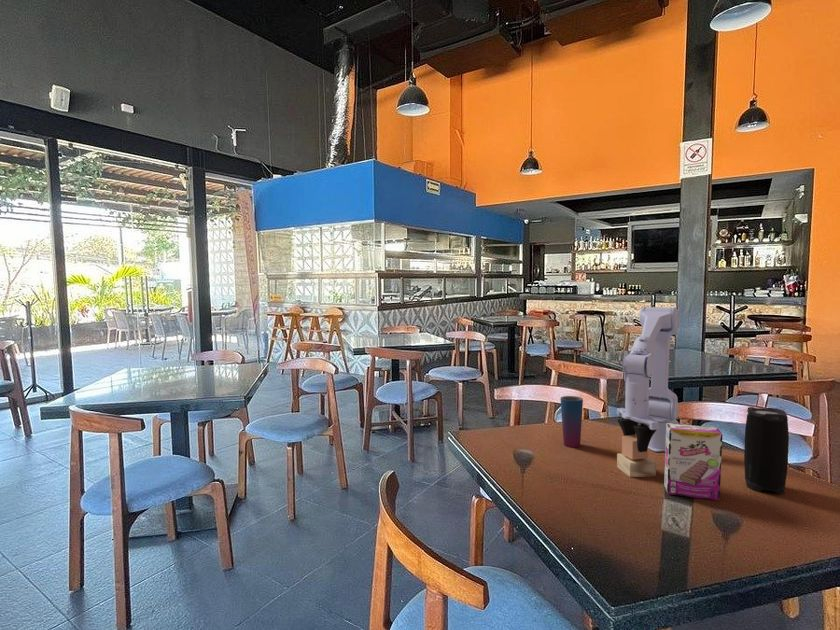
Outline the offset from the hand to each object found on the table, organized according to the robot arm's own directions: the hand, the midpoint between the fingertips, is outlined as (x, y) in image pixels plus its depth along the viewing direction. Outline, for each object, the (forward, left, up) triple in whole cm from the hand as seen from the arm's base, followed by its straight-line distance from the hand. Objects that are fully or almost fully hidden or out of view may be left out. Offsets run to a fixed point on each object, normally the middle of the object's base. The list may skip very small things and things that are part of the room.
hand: (636, 448), depth 122 cm
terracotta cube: (+1, 0, -2) cm, 2 cm away
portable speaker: (-24, +16, -7) cm, 30 cm away
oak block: (0, 0, -7) cm, 7 cm away
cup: (+6, -23, -7) cm, 25 cm away
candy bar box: (-4, +15, -7) cm, 17 cm away
